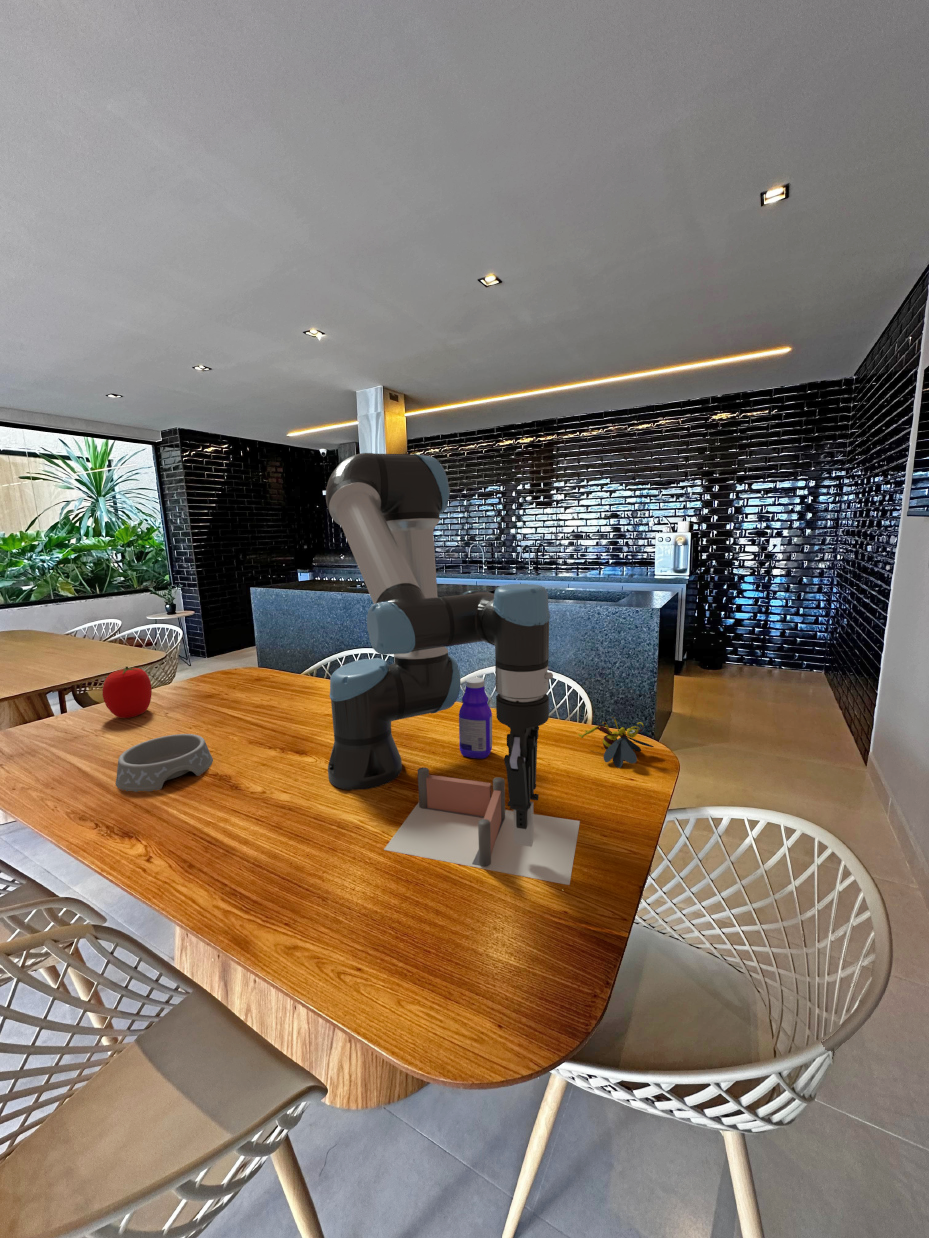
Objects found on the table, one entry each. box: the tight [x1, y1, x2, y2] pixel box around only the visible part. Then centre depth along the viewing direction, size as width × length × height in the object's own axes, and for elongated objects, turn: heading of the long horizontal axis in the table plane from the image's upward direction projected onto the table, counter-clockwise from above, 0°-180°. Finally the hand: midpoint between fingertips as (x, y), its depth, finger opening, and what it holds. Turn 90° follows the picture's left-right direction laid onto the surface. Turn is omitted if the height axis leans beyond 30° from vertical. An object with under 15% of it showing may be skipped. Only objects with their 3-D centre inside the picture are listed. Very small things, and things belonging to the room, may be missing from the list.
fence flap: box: [478, 790, 501, 866], centre depth 80 cm, size 12×2×7 cm, turn 166°
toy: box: [577, 716, 655, 769], centre depth 111 cm, size 12×8×15 cm
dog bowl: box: [115, 733, 214, 793], centre depth 109 cm, size 17×18×5 cm
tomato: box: [102, 665, 153, 719], centre depth 141 cm, size 13×11×14 cm
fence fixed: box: [417, 766, 506, 820], centre depth 90 cm, size 16×2×7 cm, turn 72°
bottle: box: [458, 676, 493, 760], centre depth 111 cm, size 7×6×17 cm
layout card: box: [383, 802, 581, 886], centre depth 83 cm, size 29×16×1 cm, turn 72°
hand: (523, 842), depth 77 cm, fingers closed
